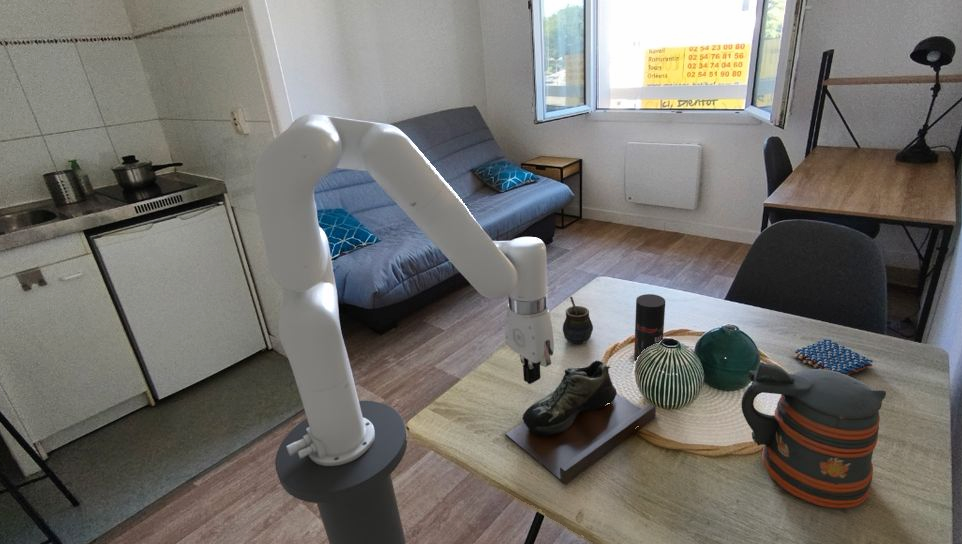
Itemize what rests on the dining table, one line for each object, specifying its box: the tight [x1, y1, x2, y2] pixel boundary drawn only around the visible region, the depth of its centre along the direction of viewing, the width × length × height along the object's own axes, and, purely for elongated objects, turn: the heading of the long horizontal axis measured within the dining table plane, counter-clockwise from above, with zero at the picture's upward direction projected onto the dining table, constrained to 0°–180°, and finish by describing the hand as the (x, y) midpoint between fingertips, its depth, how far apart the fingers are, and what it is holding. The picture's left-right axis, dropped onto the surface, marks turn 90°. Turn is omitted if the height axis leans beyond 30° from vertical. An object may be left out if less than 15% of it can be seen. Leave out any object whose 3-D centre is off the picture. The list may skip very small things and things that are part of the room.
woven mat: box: [793, 338, 874, 376], centre depth 106 cm, size 10×11×2 cm
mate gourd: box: [562, 296, 594, 345], centre depth 122 cm, size 7×8×10 cm
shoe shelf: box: [505, 394, 657, 486], centre depth 95 cm, size 24×16×3 cm, turn 127°
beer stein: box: [741, 361, 887, 510], centre depth 78 cm, size 19×15×20 cm
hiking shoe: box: [521, 360, 618, 437], centre depth 98 cm, size 8×21×9 cm, turn 123°
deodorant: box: [633, 293, 666, 362], centre depth 110 cm, size 6×6×15 cm
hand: (532, 379), depth 104 cm, fingers closed
